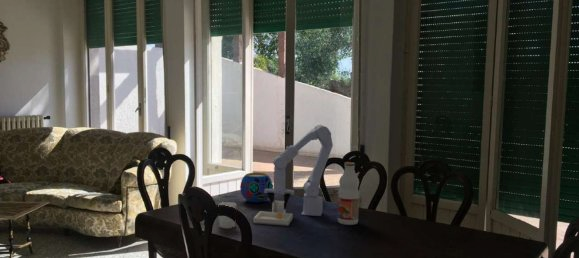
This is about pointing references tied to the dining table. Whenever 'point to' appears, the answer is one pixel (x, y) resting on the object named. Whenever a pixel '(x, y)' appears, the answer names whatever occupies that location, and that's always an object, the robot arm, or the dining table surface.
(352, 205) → the fruit juice
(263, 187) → the ceramic pot
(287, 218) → the tray
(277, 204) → the silver open box
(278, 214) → the ball
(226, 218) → the white cup
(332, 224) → the dining table surface
